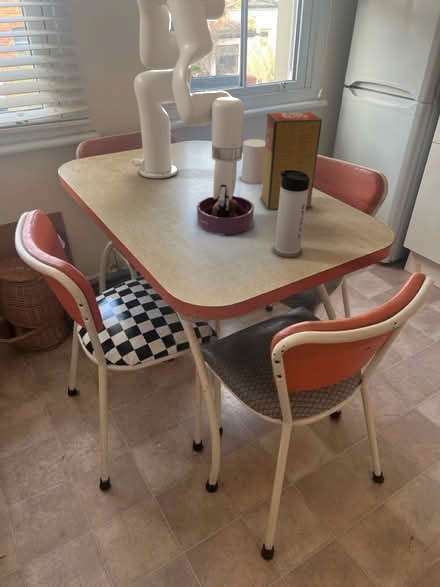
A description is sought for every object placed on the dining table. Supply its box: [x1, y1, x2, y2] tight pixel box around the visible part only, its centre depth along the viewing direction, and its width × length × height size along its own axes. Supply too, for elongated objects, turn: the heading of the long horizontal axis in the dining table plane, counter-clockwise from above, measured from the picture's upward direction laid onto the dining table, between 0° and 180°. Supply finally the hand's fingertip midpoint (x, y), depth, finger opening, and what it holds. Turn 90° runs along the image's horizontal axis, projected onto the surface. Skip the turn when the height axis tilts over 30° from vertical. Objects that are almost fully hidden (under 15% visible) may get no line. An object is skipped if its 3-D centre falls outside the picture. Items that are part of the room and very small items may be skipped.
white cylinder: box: [241, 138, 266, 184], centre depth 146 cm, size 8×8×12 cm
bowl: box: [196, 195, 255, 235], centre depth 120 cm, size 15×15×5 cm
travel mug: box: [273, 170, 310, 258], centre depth 103 cm, size 6×7×20 cm
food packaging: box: [260, 111, 323, 210], centre depth 126 cm, size 13×9×25 cm
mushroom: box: [212, 199, 238, 217], centre depth 119 cm, size 8×8×6 cm
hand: (225, 215), depth 120 cm, fingers closed on mushroom, 8 cm apart
